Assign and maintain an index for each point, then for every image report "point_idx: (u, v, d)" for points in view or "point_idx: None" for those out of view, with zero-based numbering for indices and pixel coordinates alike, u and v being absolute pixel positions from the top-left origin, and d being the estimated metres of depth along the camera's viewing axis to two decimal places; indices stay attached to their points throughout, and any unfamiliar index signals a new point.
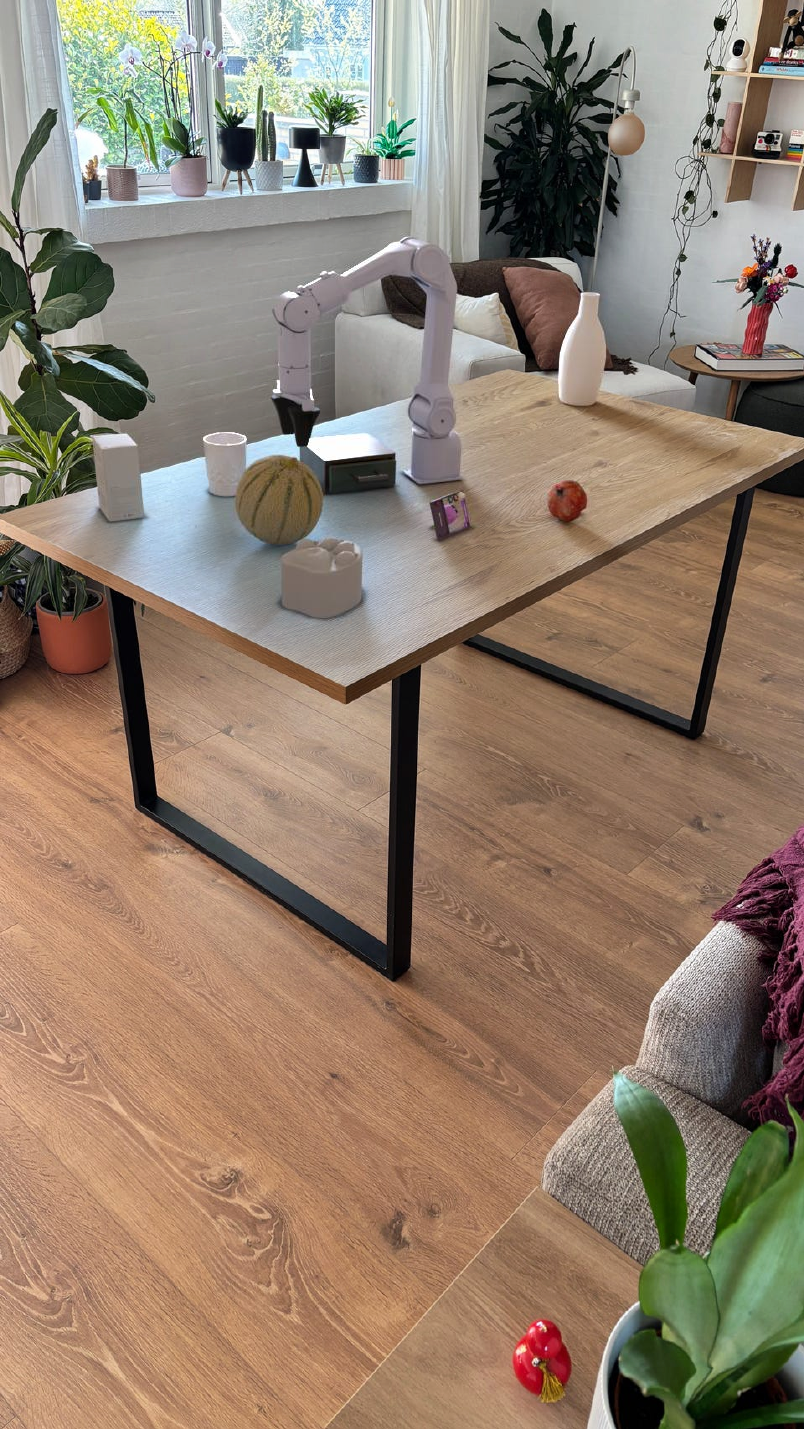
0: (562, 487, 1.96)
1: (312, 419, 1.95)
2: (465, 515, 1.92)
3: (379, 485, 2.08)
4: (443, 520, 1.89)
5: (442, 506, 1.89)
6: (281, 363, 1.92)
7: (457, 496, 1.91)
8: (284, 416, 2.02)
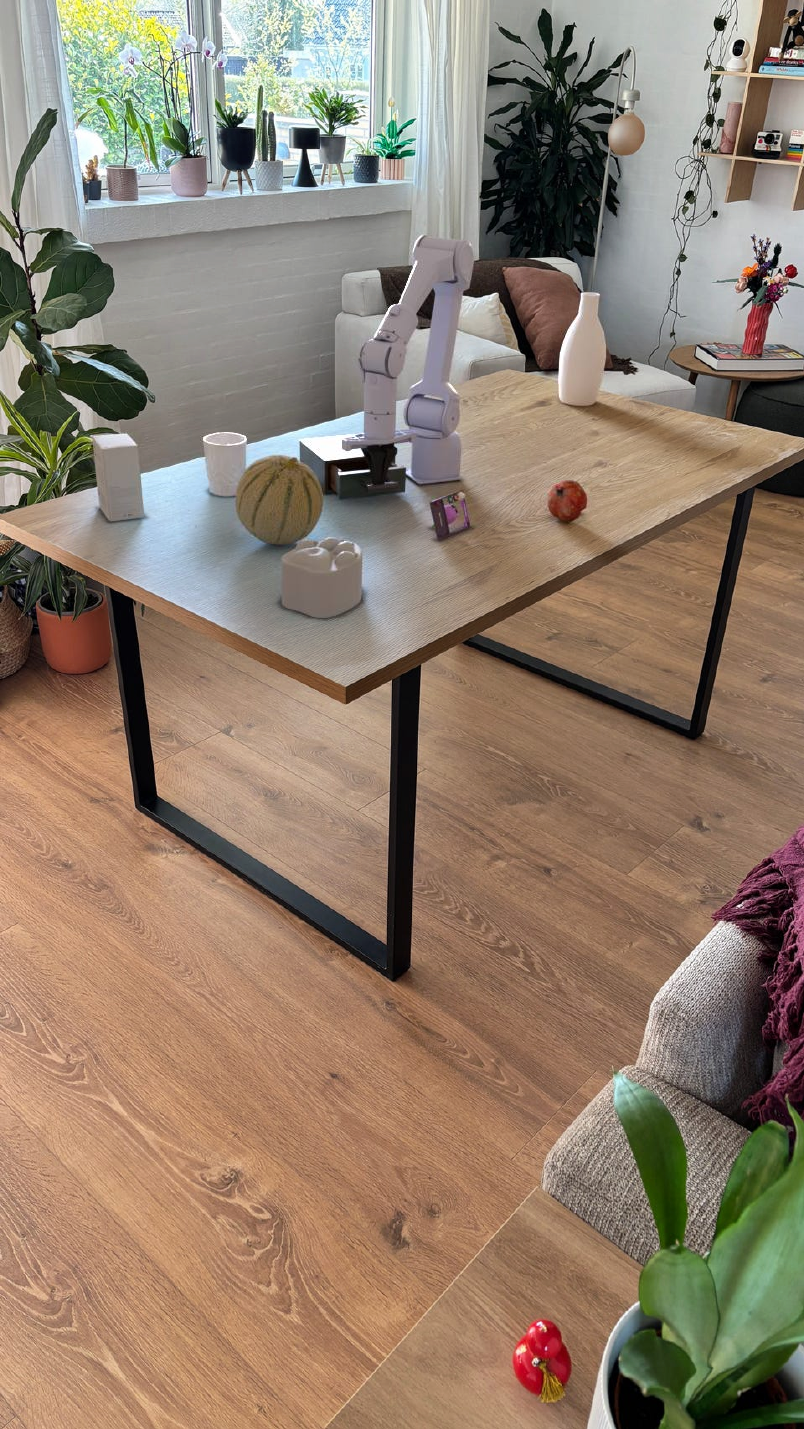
0: (562, 487, 1.96)
1: (372, 460, 1.96)
2: (465, 515, 1.92)
3: (388, 492, 2.05)
4: (443, 520, 1.89)
5: (442, 506, 1.89)
6: (375, 411, 1.91)
7: (457, 496, 1.91)
8: None
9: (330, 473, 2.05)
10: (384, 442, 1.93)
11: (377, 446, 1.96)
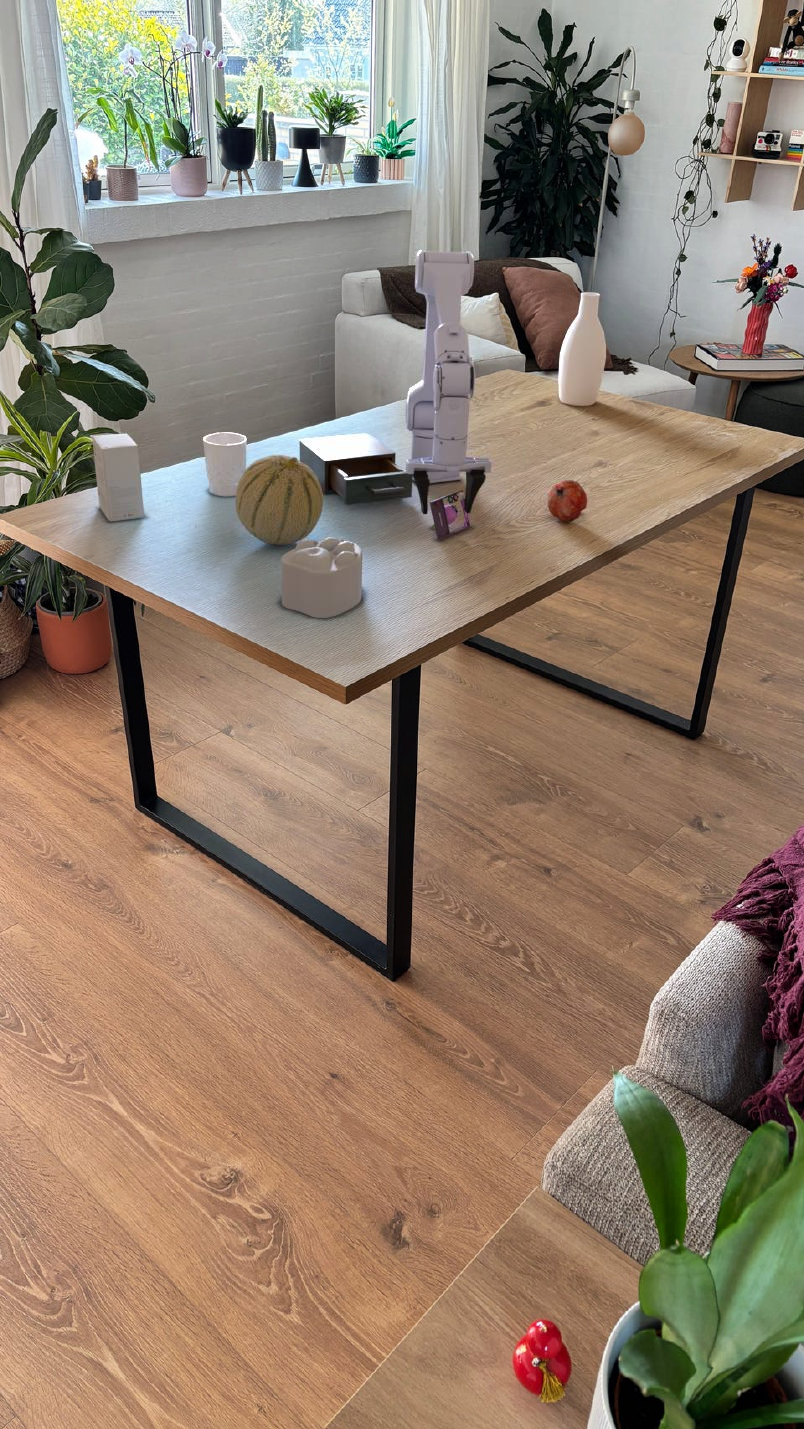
0: (562, 487, 1.96)
1: None
2: (465, 515, 1.93)
3: (395, 498, 2.03)
4: (443, 520, 1.89)
5: (442, 506, 1.89)
6: (457, 436, 1.81)
7: (457, 496, 1.91)
8: None
9: (336, 478, 2.03)
10: None
11: None
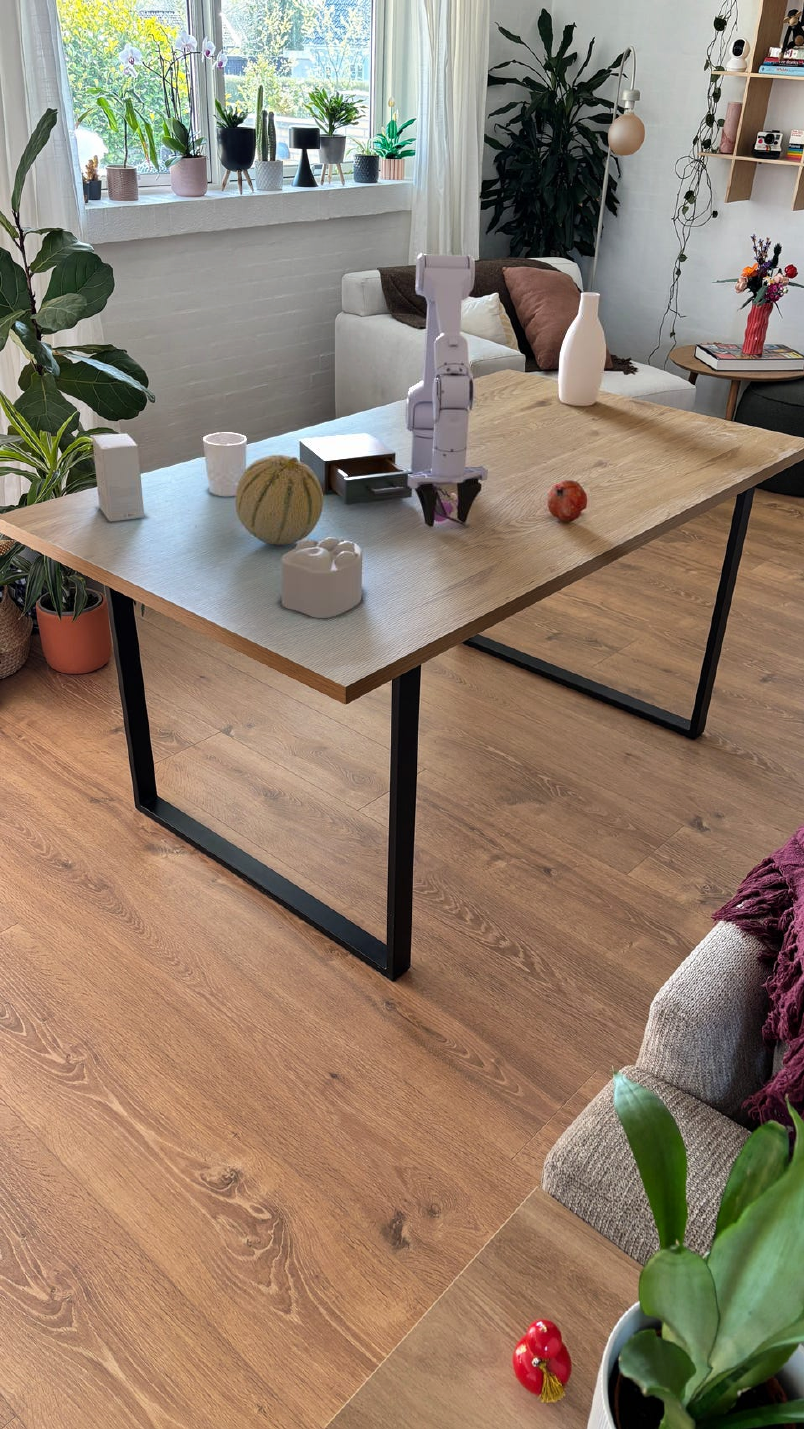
0: (562, 487, 1.96)
1: None
2: None
3: (395, 498, 2.03)
4: (439, 503, 1.90)
5: None
6: (456, 448, 1.82)
7: (449, 494, 1.95)
8: None
9: (336, 478, 2.03)
10: None
11: None
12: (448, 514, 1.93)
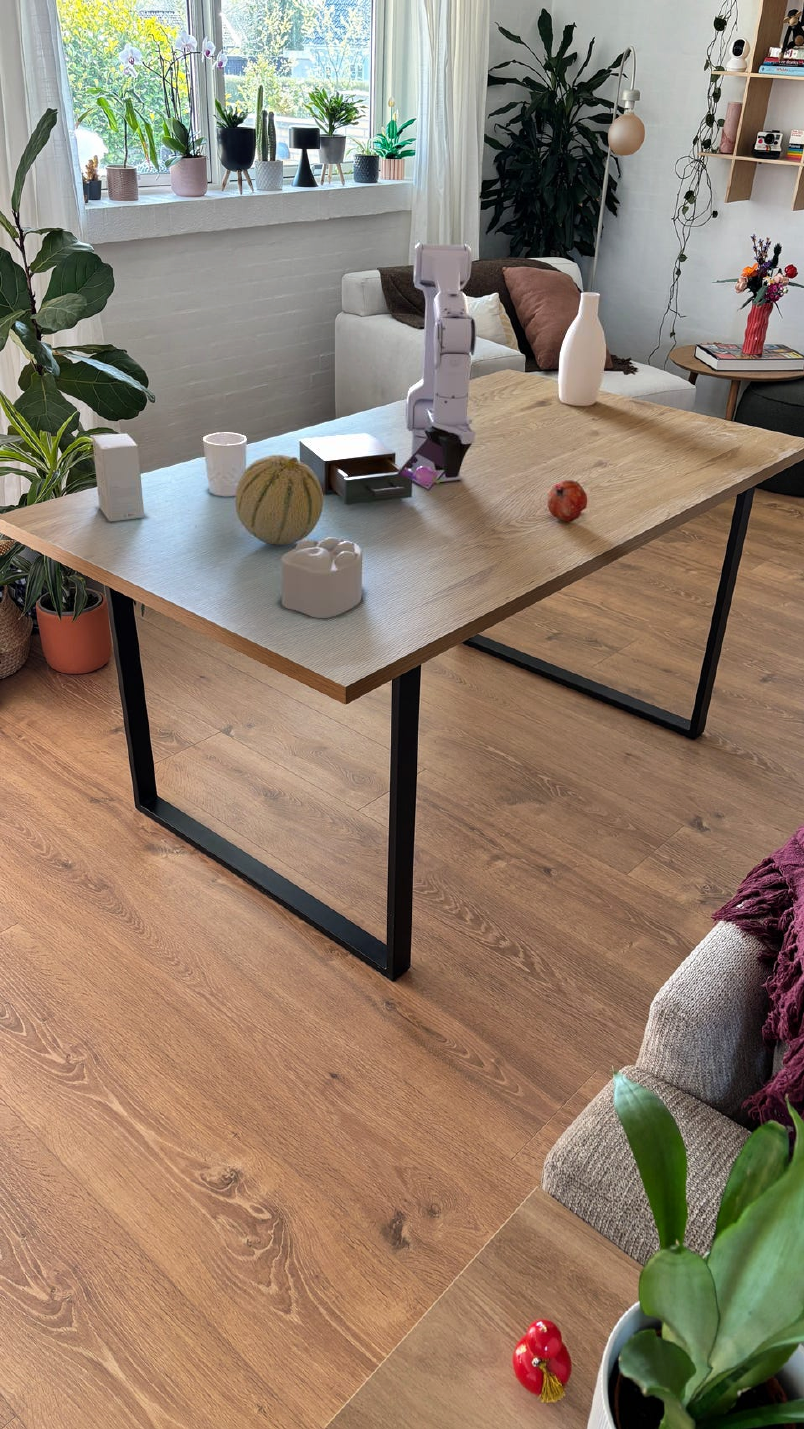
0: (562, 487, 1.96)
1: None
2: None
3: (395, 498, 2.03)
4: None
5: None
6: (457, 394, 1.78)
7: (406, 467, 1.89)
8: None
9: (336, 478, 2.03)
10: (432, 423, 1.82)
11: None
12: None
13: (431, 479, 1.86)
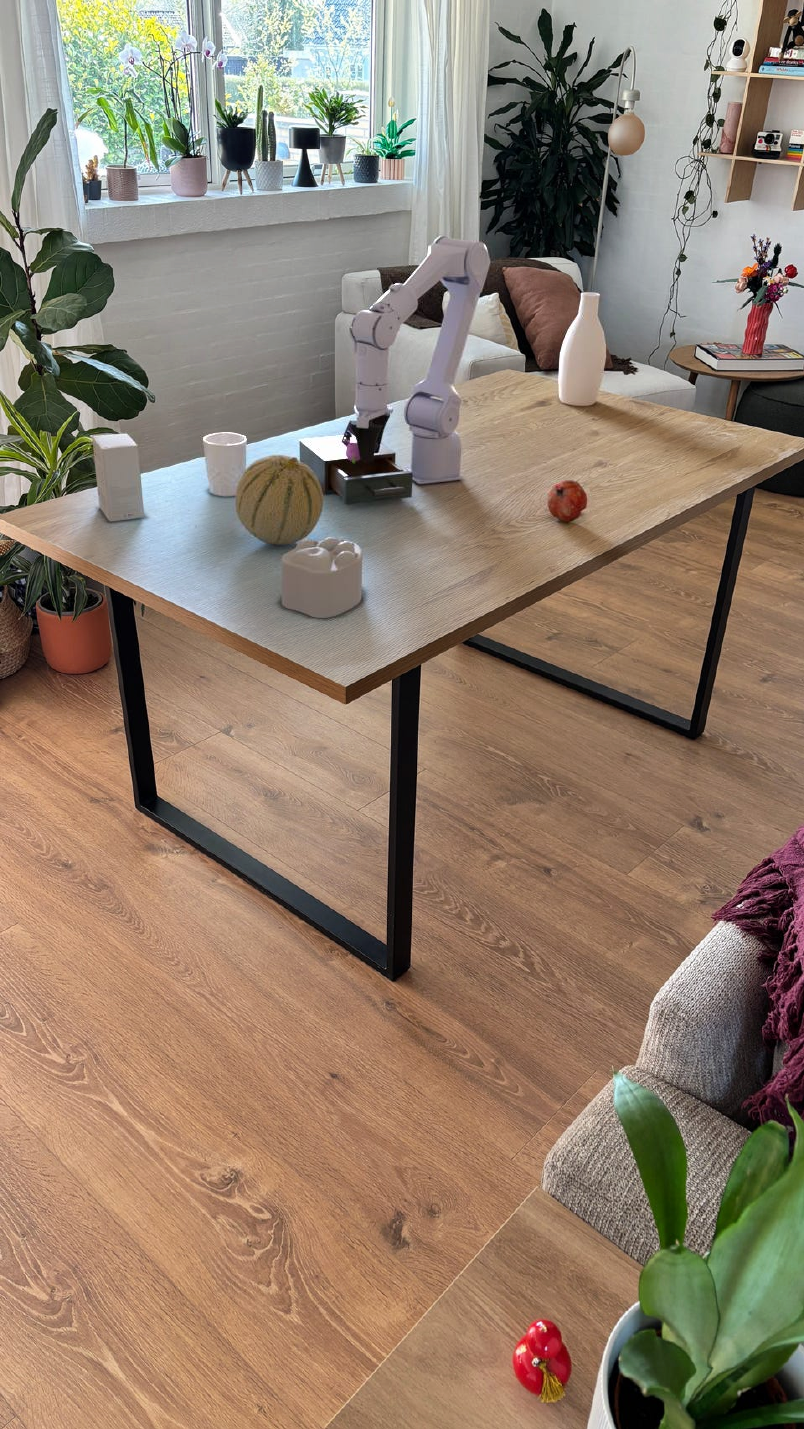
0: (562, 487, 1.96)
1: None
2: None
3: (395, 498, 2.03)
4: None
5: None
6: (364, 381, 1.92)
7: (347, 438, 2.04)
8: None
9: (336, 478, 2.03)
10: None
11: None
12: None
13: (351, 457, 2.01)
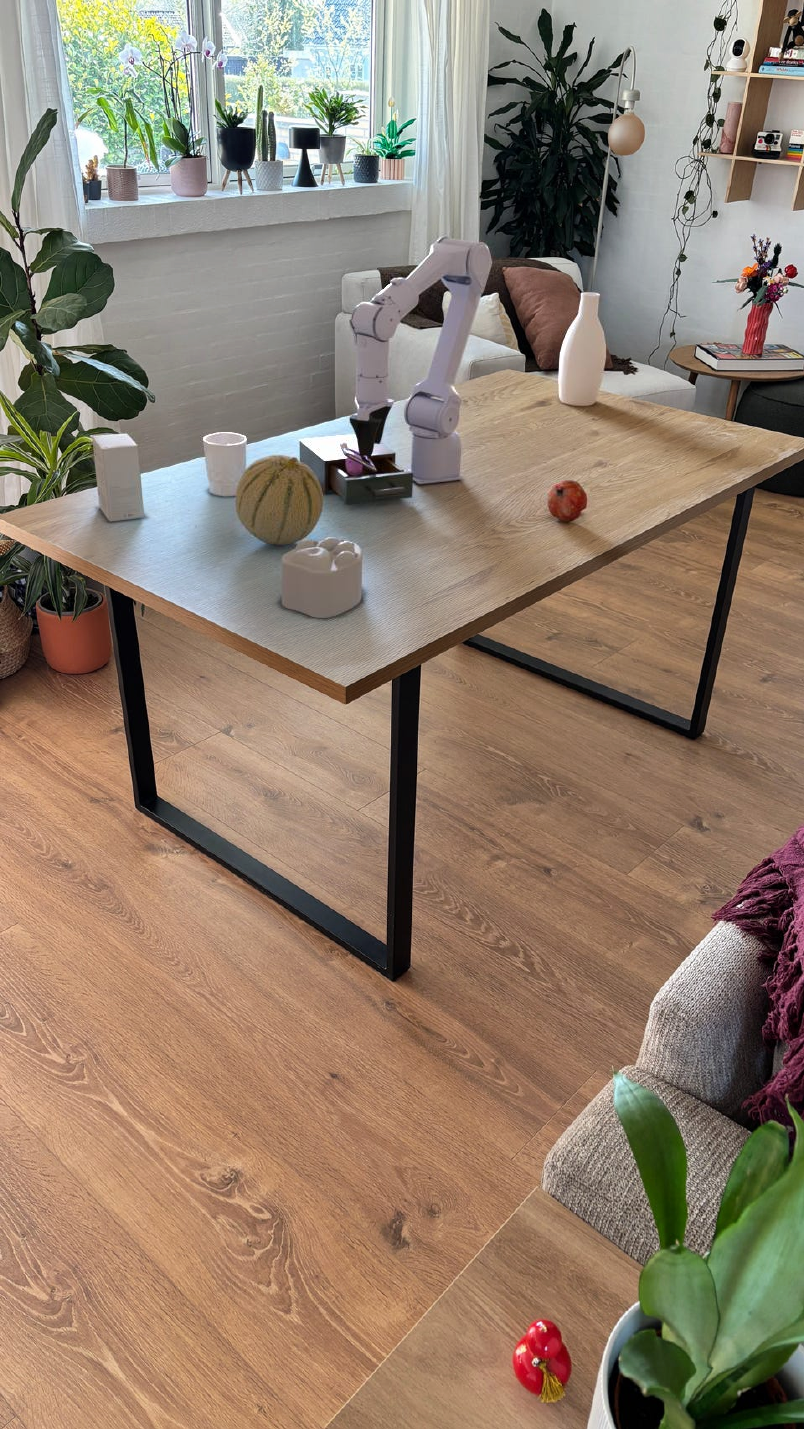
0: (562, 487, 1.96)
1: None
2: None
3: (395, 498, 2.02)
4: (360, 461, 2.00)
5: (349, 454, 1.99)
6: (364, 374, 1.91)
7: None
8: None
9: (336, 478, 2.02)
10: None
11: None
12: None
13: (352, 475, 2.02)
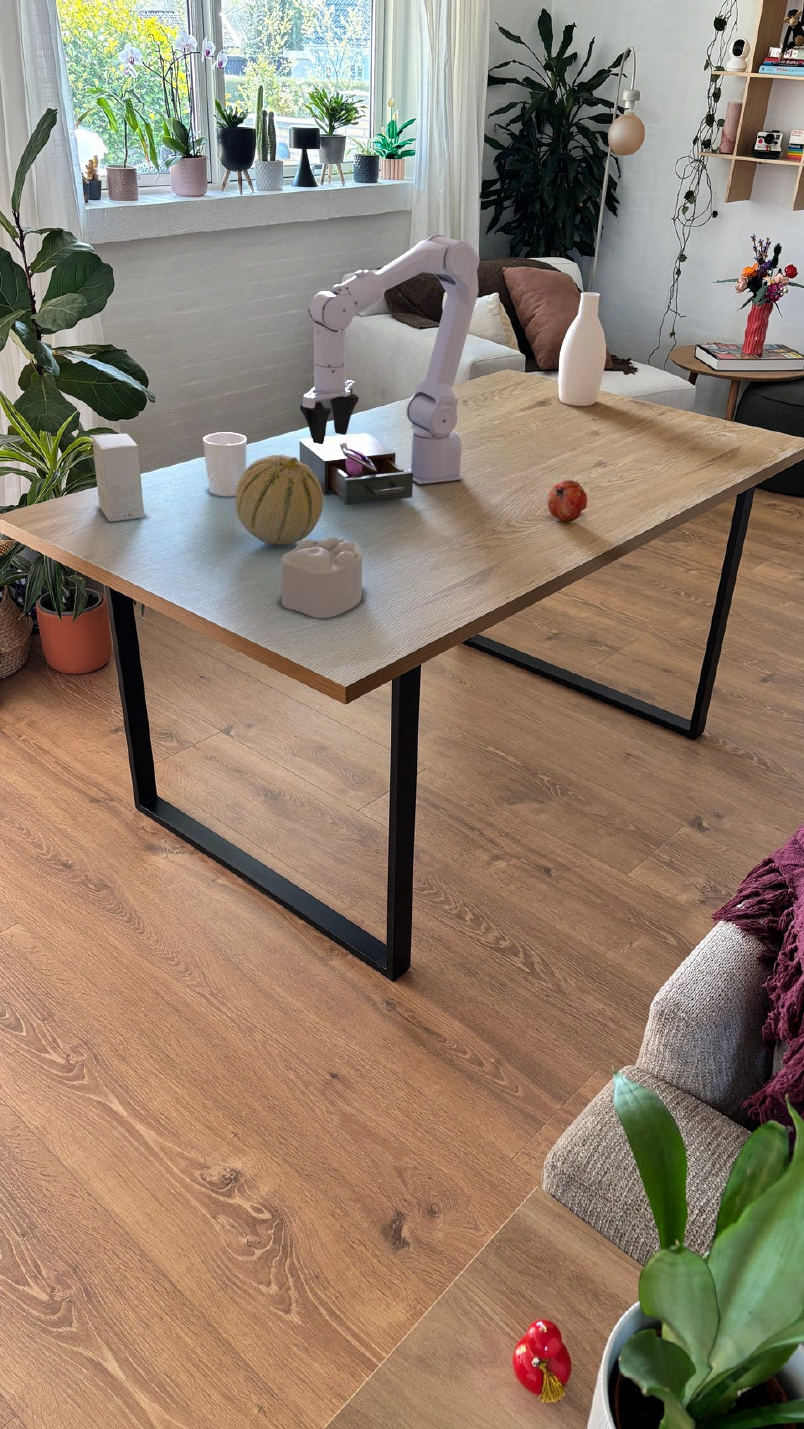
0: (562, 487, 1.96)
1: None
2: (361, 453, 2.04)
3: (395, 498, 2.02)
4: (360, 461, 2.00)
5: (349, 454, 1.99)
6: (318, 362, 1.93)
7: None
8: None
9: (336, 478, 2.02)
10: None
11: None
12: None
13: (352, 475, 2.02)
